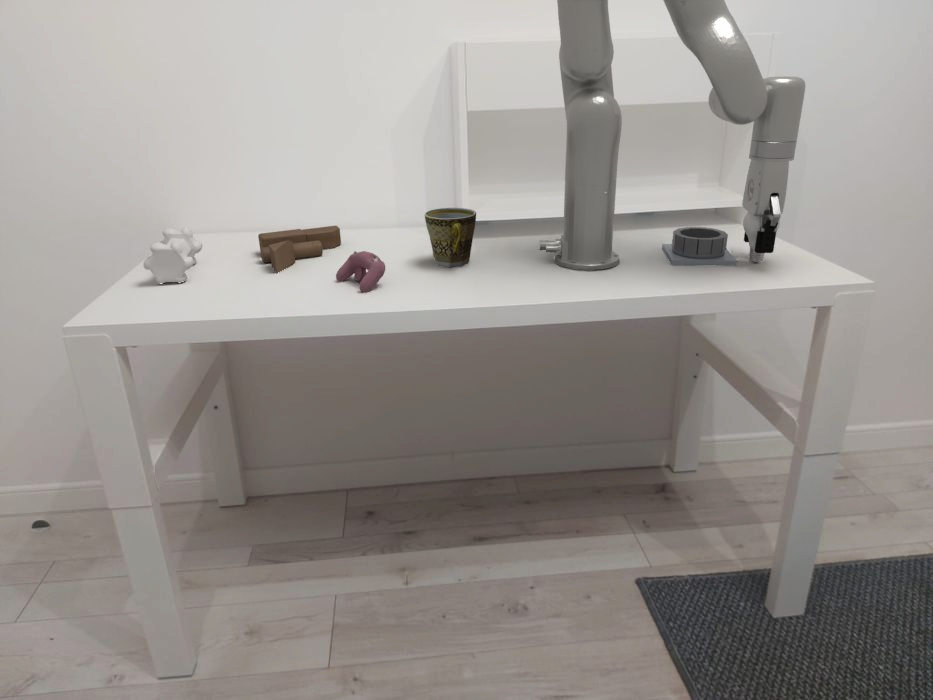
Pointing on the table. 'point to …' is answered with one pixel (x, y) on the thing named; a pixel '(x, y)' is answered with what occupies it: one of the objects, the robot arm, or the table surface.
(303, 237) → the wooden block set
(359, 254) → the video game controller
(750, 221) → the lightbulb
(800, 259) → the table surface
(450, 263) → the ceramic cup
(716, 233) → the socket
